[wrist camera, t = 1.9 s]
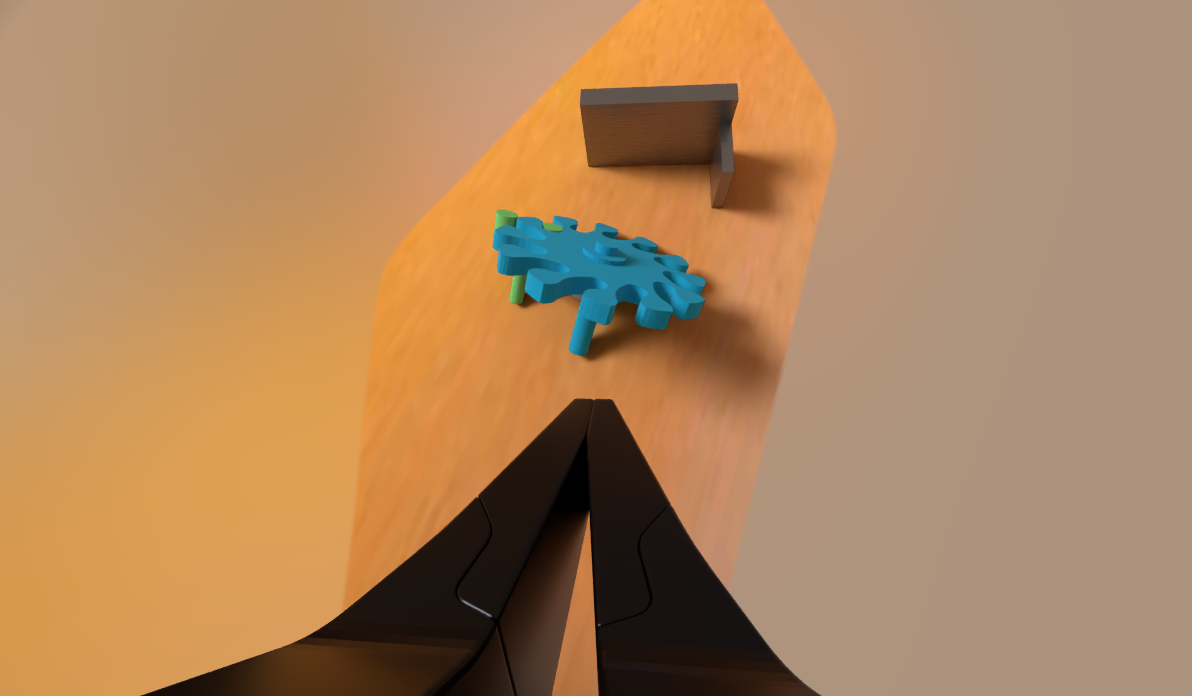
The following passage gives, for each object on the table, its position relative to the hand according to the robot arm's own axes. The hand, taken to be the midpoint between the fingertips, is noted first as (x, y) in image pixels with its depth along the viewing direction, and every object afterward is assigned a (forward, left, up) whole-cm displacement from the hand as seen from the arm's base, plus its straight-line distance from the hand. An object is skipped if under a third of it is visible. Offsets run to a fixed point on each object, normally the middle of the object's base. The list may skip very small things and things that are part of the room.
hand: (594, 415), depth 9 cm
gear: (+8, +1, -13) cm, 15 cm away
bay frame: (+16, -2, -13) cm, 20 cm away
